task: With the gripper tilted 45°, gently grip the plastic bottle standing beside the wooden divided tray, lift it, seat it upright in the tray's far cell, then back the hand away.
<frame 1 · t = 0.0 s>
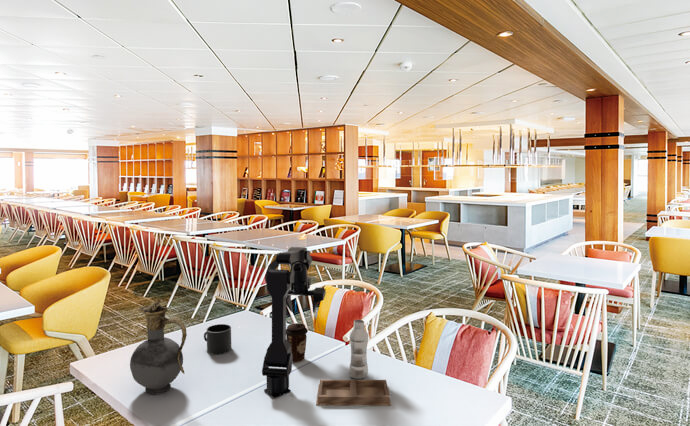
hand: (302, 311, 172), 15 cm above the table, tool pointing down, fingers open, 9 cm apart
mug: (216, 349, 173), on the table
plastic bottle: (358, 377, 149), on the table
pitcher: (162, 390, 140), on the table
coffee cup: (296, 359, 164), on the table
wooden divided tray: (353, 395, 137), on the table
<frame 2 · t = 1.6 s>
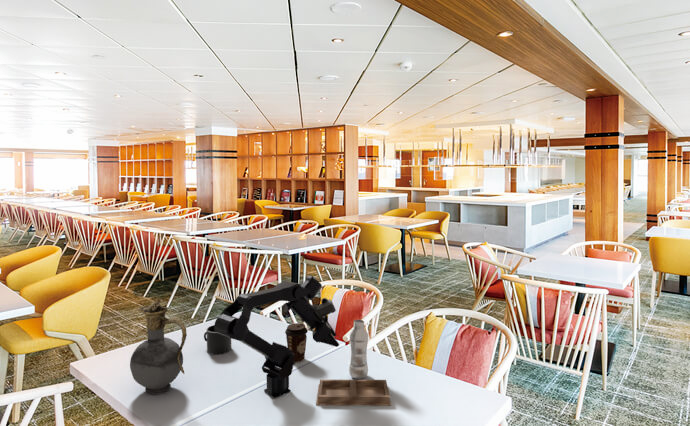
hand: (336, 340, 147), 13 cm above the table, tool tilted 45°, fingers open, 9 cm apart
nothing on the table moved.
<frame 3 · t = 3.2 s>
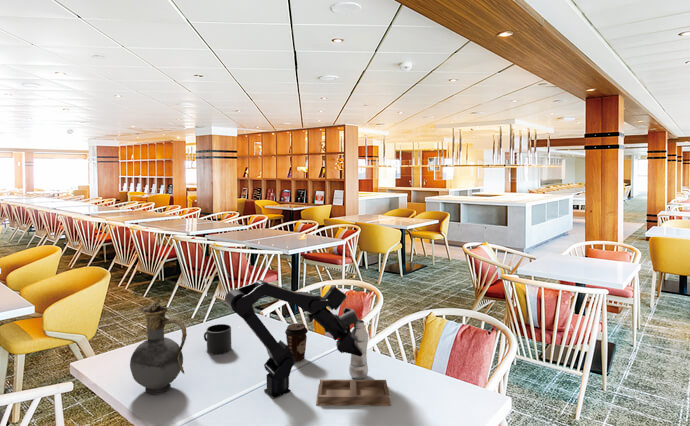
hand: (359, 349, 149), 10 cm above the table, tool tilted 45°, fingers open, 9 cm apart
nothing on the table moved.
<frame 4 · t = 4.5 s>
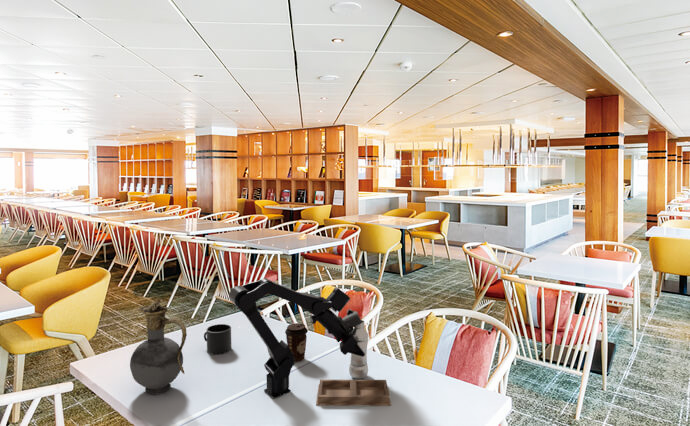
hand: (362, 351, 149), 9 cm above the table, tool tilted 45°, fingers closed on plastic bottle, 6 cm apart
plastic bottle: (358, 377, 149), on the table, touching gripper
everything else where it was.
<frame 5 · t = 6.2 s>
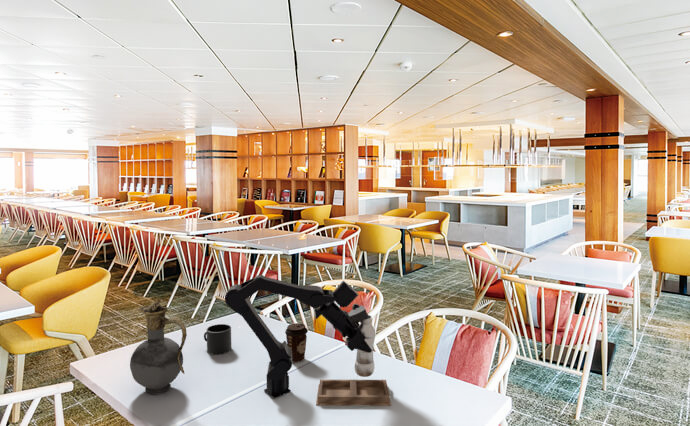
hand: (369, 347, 142), 13 cm above the table, tool tilted 45°, fingers closed on plastic bottle, 6 cm apart
plastic bottle: (364, 375, 142), point 4 cm above the table, touching gripper
everything else where it was.
when the fingers open (10 cm above the table, at t = 8.1 s): plastic bottle stays where it is, resting on wooden divided tray.
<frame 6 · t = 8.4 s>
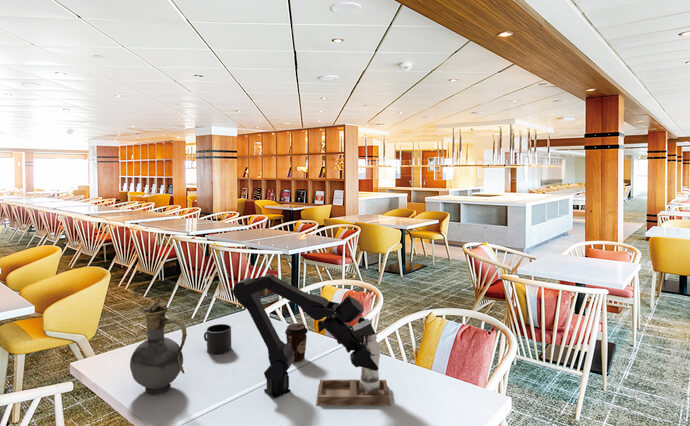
hand: (374, 363, 136), 11 cm above the table, tool tilted 45°, fingers open, 9 cm apart
plastic bottle: (369, 394, 137), resting on wooden divided tray
everything else where it was.
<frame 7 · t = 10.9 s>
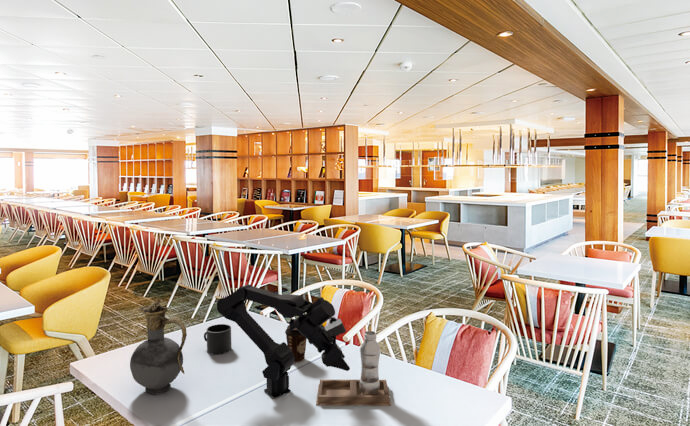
hand: (346, 363, 136), 11 cm above the table, tool tilted 45°, fingers open, 9 cm apart
nothing on the table moved.
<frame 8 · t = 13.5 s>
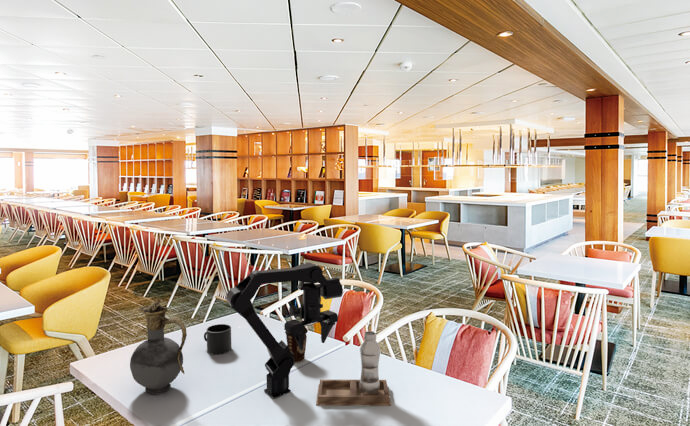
hand: (312, 346, 144), 13 cm above the table, tool pointing down, fingers open, 9 cm apart
nothing on the table moved.
at the end: plastic bottle 0.4 cm from the target spot, resting on wooden divided tray; plastic bottle tilted 0°; the gripper is holding nothing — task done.
